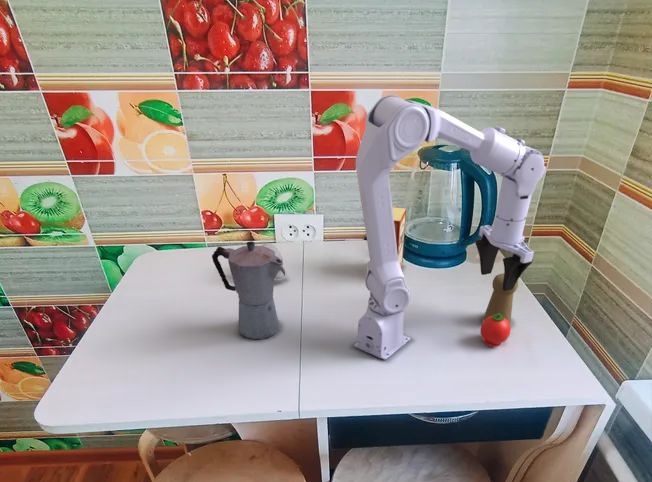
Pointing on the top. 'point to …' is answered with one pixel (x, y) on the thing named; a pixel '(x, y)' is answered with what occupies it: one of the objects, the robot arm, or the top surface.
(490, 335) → the tomato
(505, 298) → the tan rounded tall piece
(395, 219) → the baking soda box
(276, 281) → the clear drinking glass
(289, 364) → the top surface
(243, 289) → the moka pot
